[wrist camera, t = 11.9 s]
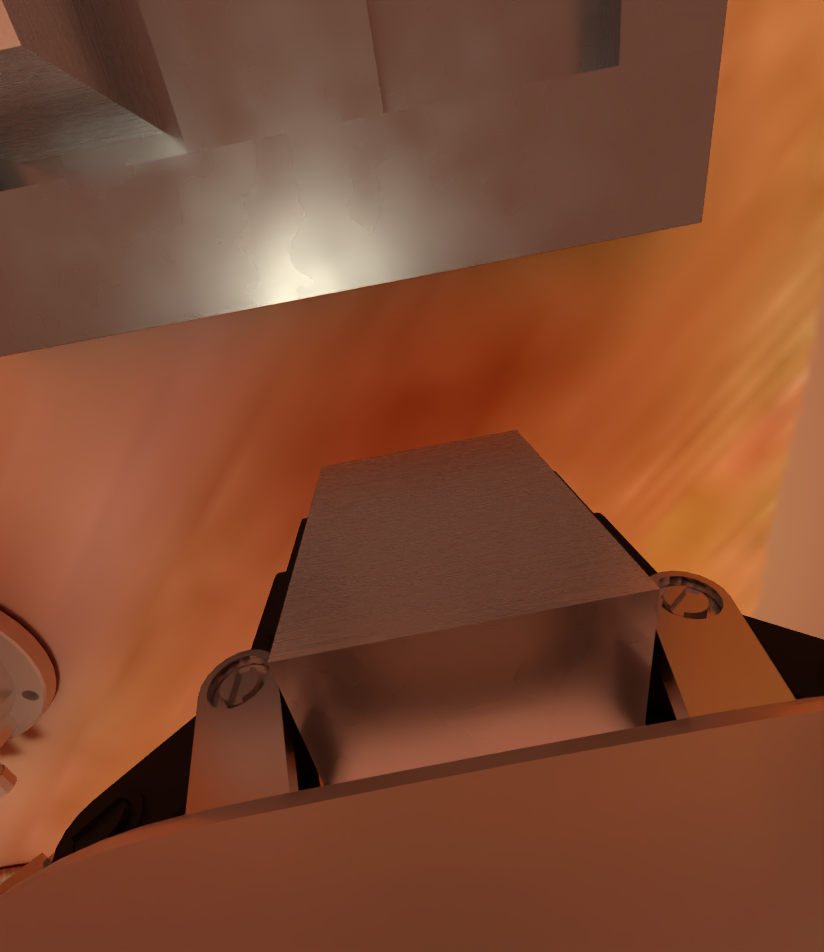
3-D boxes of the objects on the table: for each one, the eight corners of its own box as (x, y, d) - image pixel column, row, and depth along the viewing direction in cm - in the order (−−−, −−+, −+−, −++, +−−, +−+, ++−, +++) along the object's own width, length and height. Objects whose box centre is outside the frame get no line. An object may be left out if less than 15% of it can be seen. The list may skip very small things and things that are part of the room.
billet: (526, 582, 13) (635, 806, 7) (365, 613, 13) (357, 858, 7) (516, 430, 11) (659, 588, 5) (321, 466, 11) (267, 662, 5)
